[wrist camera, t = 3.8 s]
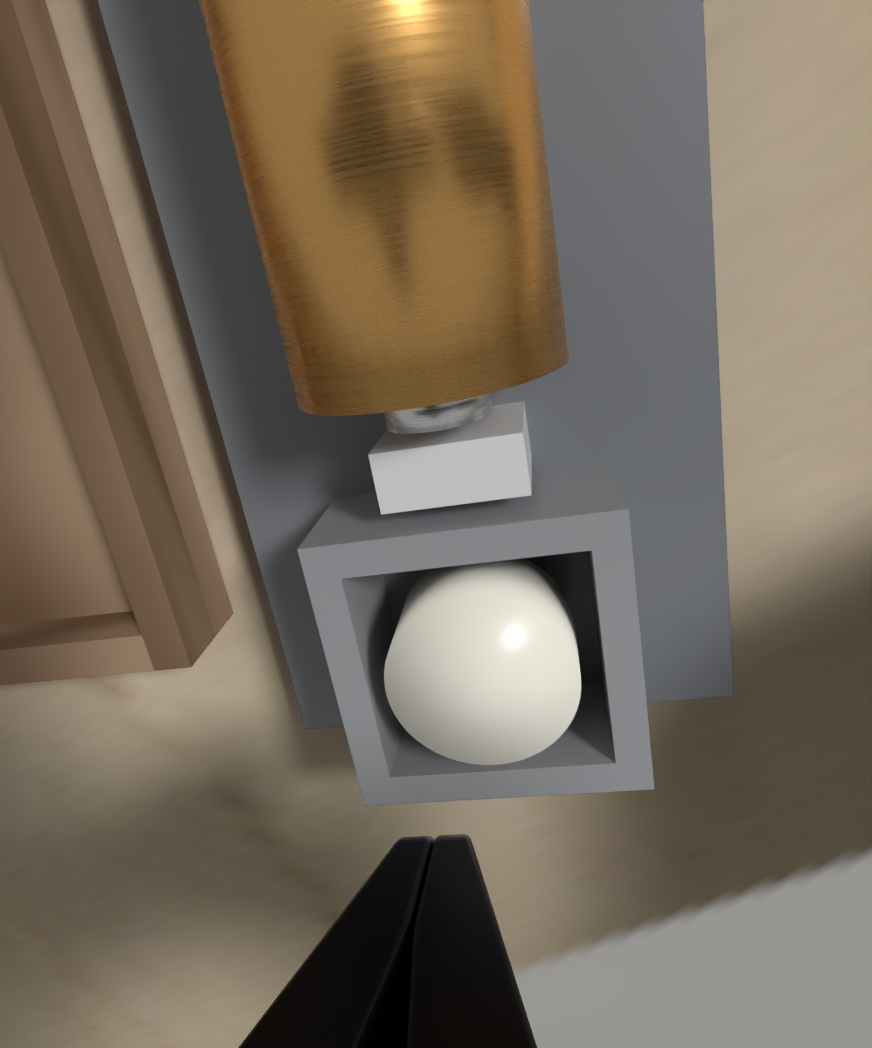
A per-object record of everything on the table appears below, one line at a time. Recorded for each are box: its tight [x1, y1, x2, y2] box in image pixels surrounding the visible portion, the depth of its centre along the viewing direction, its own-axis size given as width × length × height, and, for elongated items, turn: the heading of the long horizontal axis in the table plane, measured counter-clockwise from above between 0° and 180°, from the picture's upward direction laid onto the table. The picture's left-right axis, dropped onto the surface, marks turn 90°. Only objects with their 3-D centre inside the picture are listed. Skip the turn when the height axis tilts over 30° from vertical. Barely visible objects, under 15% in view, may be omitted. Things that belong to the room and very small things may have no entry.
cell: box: [199, 0, 569, 434], centre depth 9 cm, size 4×10×4 cm, turn 10°
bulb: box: [384, 558, 581, 765], centre depth 13 cm, size 3×3×2 cm
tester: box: [98, 0, 733, 806], centre depth 12 cm, size 9×18×4 cm, turn 10°
